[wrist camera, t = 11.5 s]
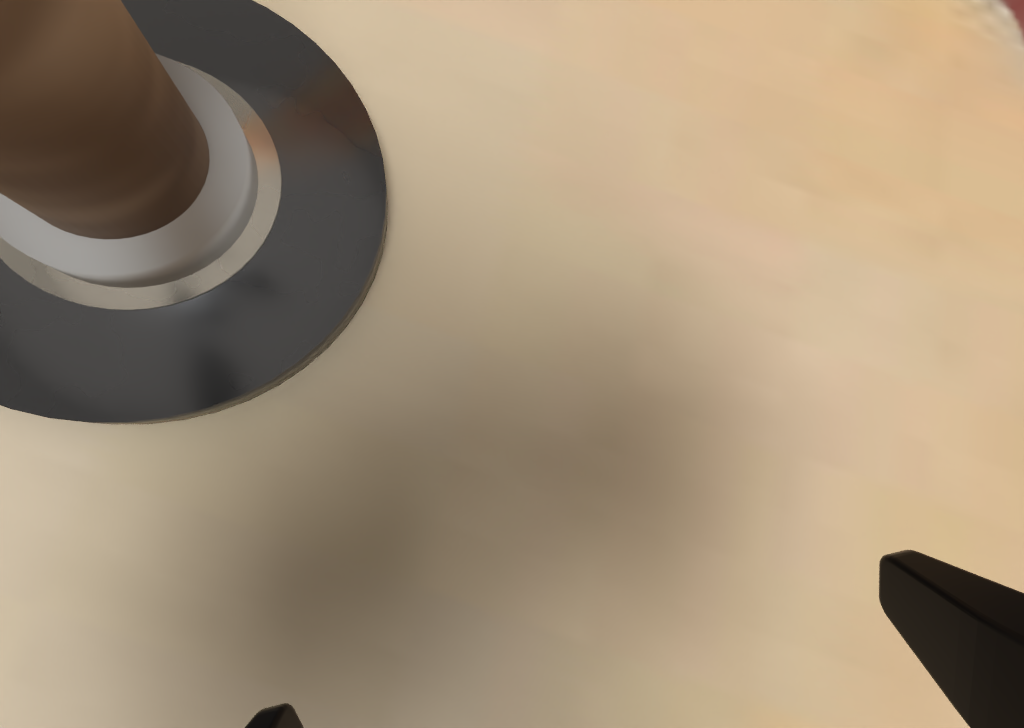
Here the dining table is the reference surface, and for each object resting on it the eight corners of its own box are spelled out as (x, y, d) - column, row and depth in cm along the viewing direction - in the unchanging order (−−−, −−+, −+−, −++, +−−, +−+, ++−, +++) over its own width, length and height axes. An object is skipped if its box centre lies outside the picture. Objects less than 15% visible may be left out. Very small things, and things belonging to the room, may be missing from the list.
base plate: (-65, 496, 14) (-114, 502, 13) (-174, 30, 15) (-227, -9, 14) (442, 343, 18) (445, 335, 16) (318, -24, 19) (312, -58, 18)
